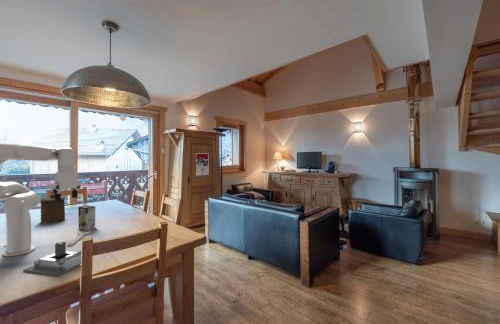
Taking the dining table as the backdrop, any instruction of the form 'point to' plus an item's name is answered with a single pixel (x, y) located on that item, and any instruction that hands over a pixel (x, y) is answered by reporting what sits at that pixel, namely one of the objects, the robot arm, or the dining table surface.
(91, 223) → the coffee box
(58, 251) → the dark grey block
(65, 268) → the white grey box
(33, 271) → the charcoal mat
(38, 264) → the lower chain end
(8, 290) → the dining table surface
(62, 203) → the wooden container
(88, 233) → the adjustable wrench
